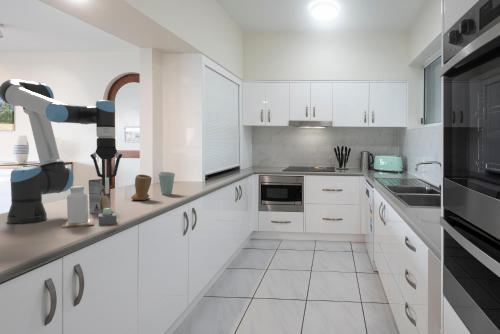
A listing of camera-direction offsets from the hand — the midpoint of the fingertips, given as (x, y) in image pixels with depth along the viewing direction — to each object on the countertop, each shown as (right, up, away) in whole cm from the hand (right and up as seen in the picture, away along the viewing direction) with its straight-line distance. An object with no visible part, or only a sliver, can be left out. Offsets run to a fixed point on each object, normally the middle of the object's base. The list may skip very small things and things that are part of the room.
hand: (107, 193), depth 171 cm
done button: (0, -10, +1) cm, 10 cm away
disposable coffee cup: (+6, -7, +94) cm, 95 cm away
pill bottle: (-12, -12, -2) cm, 17 cm away
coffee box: (-13, -11, +28) cm, 33 cm away
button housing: (0, -13, +1) cm, 13 cm away
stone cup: (-4, -9, +70) cm, 71 cm away
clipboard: (-12, -13, -1) cm, 17 cm away
